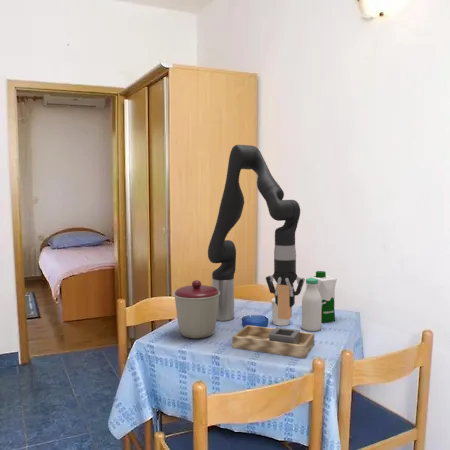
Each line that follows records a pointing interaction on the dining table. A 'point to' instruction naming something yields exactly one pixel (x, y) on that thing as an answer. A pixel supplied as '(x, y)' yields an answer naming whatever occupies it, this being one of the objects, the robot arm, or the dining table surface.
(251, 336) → the oak box
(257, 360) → the dining table surface
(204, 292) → the canister
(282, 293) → the plug
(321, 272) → the milk carton
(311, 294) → the milk bottle
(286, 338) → the socket
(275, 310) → the white cup
